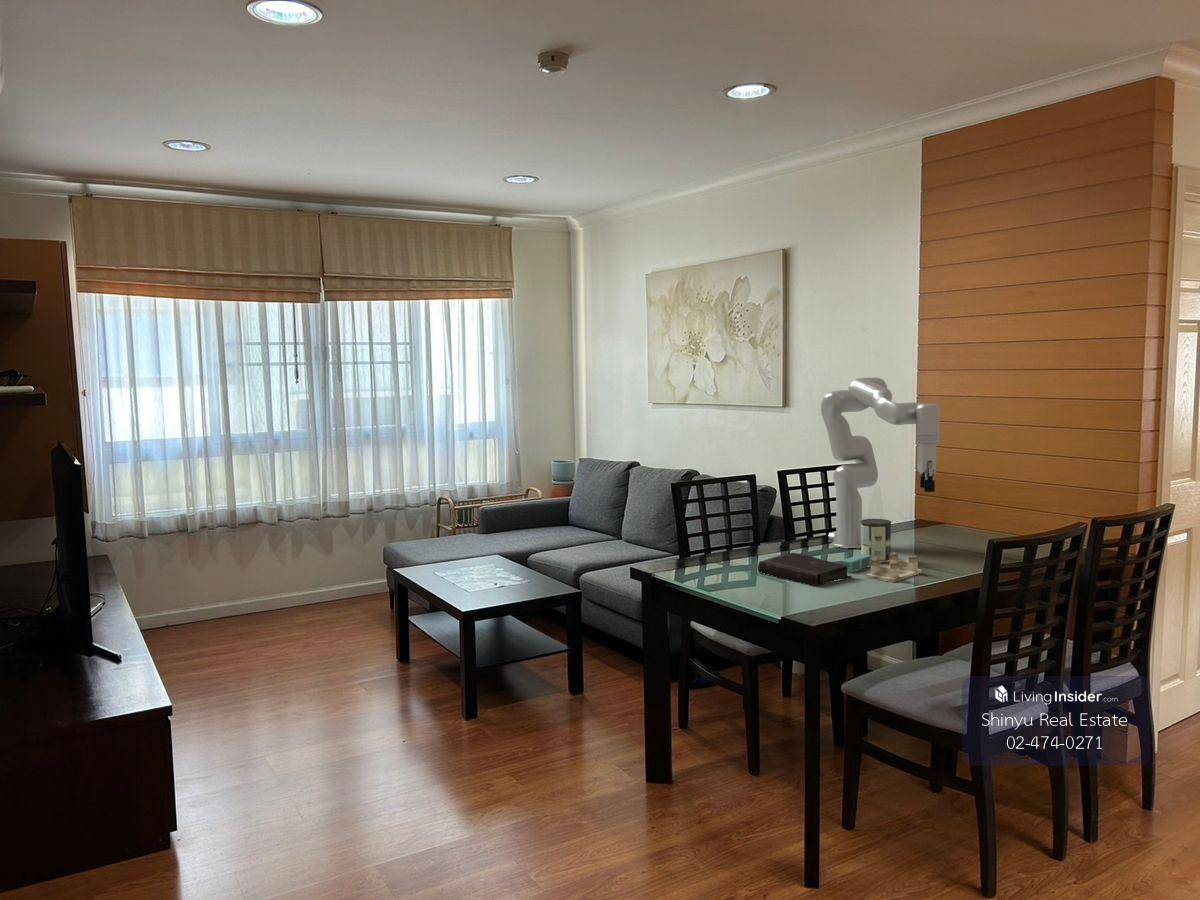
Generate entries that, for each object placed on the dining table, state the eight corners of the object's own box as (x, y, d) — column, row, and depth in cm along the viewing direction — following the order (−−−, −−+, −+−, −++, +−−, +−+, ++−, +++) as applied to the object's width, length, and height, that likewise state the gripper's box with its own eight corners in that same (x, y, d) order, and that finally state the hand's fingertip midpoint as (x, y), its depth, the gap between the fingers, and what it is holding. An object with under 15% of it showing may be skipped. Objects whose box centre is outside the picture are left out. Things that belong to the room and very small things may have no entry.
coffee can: (879, 555, 313) (879, 517, 312) (897, 561, 303) (897, 522, 302) (854, 558, 310) (854, 519, 309) (872, 564, 300) (872, 524, 299)
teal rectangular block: (840, 572, 291) (840, 560, 291) (862, 565, 301) (862, 553, 300) (850, 574, 289) (850, 562, 288) (871, 566, 298) (871, 555, 298)
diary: (815, 589, 272) (815, 573, 272) (757, 575, 293) (757, 560, 292) (853, 578, 283) (852, 563, 283) (795, 565, 303) (794, 551, 303)
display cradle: (866, 577, 282) (866, 560, 281) (894, 568, 294) (894, 551, 293) (894, 582, 275) (894, 564, 274) (921, 572, 287) (922, 555, 286)
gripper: (912, 437, 302) (912, 486, 304) (919, 442, 285) (919, 493, 287) (935, 437, 300) (934, 486, 302) (943, 442, 283) (943, 493, 285)
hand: (927, 489), depth 294 cm, fingers open, 9 cm apart
